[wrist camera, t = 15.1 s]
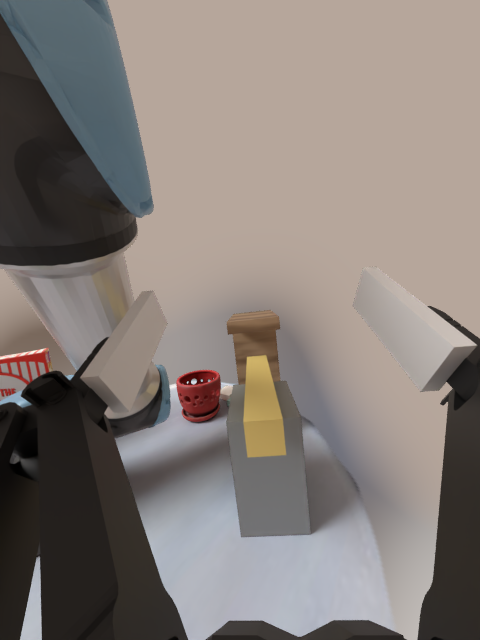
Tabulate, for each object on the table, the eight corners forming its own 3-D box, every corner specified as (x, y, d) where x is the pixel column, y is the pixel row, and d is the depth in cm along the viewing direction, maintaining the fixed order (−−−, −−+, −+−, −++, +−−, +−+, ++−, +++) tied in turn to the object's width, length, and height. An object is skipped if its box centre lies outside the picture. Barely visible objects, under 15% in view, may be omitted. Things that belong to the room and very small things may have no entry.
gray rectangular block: (310, 534, 29) (300, 416, 27) (241, 536, 30) (226, 422, 28) (293, 467, 41) (285, 380, 39) (243, 470, 41) (233, 385, 39)
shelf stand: (292, 461, 42) (278, 316, 39) (243, 464, 43) (226, 322, 39) (280, 413, 59) (270, 310, 55) (245, 416, 60) (233, 314, 56)
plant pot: (199, 432, 55) (193, 389, 53) (173, 417, 63) (167, 380, 62) (232, 408, 64) (228, 372, 63) (205, 398, 73) (201, 366, 72)
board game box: (-62, 503, 42) (-103, 376, 39) (-45, 482, 47) (-80, 369, 44) (67, 450, 53) (43, 350, 50) (69, 438, 58) (48, 346, 55)
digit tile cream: (216, 398, 73) (215, 392, 72) (227, 391, 77) (226, 385, 77) (229, 402, 69) (228, 395, 69) (240, 394, 74) (239, 388, 74)
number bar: (286, 455, 21) (282, 418, 21) (247, 457, 21) (243, 421, 21) (268, 373, 43) (266, 355, 42) (249, 375, 43) (246, 356, 43)
